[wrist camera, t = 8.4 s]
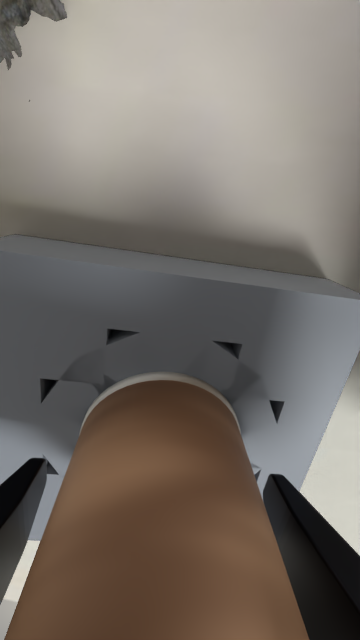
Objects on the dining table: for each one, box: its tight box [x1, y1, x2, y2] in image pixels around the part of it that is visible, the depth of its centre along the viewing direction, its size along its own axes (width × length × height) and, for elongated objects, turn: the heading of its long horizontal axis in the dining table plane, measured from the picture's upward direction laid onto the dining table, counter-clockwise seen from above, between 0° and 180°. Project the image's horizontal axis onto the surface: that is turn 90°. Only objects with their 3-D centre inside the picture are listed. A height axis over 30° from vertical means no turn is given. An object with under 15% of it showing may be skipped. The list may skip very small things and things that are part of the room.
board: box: [0, 234, 360, 541], centre depth 12 cm, size 12×12×3 cm
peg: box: [4, 372, 309, 640], centre depth 8 cm, size 6×6×10 cm
